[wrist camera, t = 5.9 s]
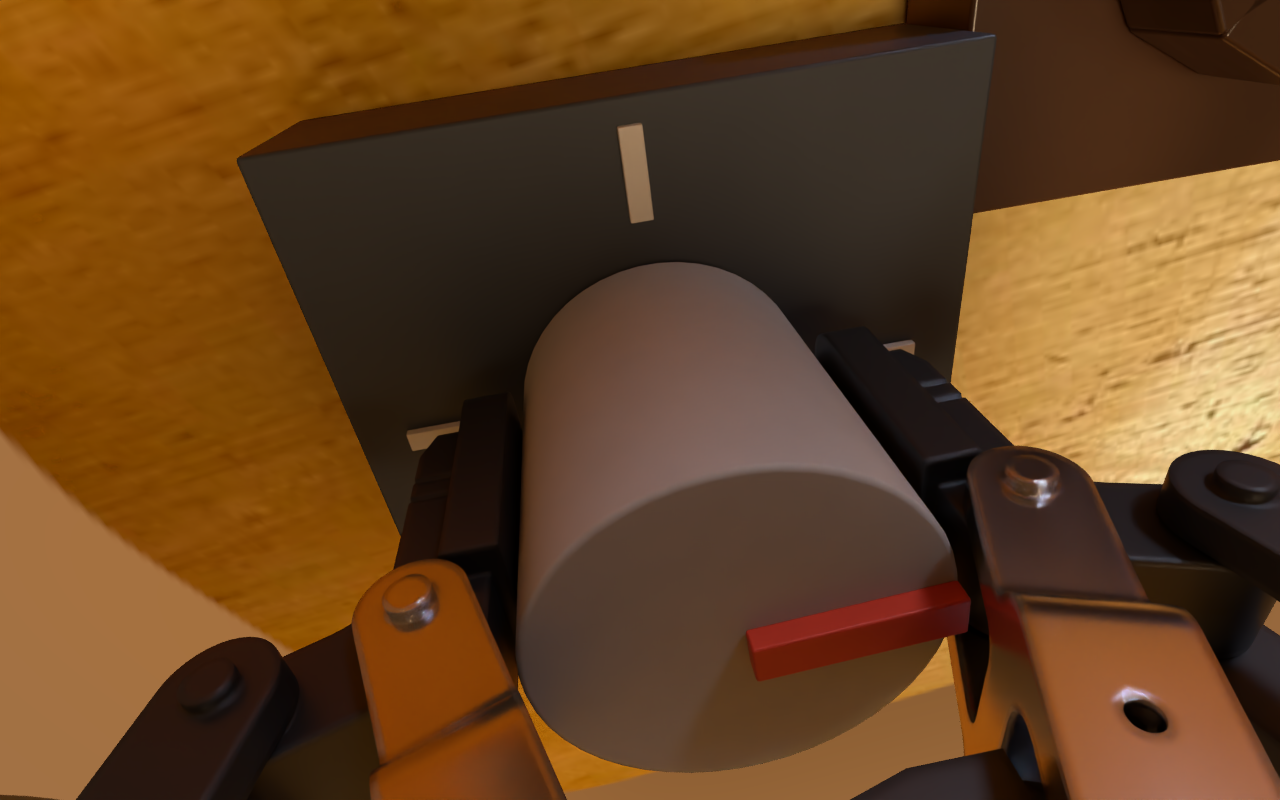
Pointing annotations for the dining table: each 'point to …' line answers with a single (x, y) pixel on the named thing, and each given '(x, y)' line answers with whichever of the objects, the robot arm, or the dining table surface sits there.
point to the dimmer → (711, 533)
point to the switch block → (1118, 91)
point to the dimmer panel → (625, 212)
